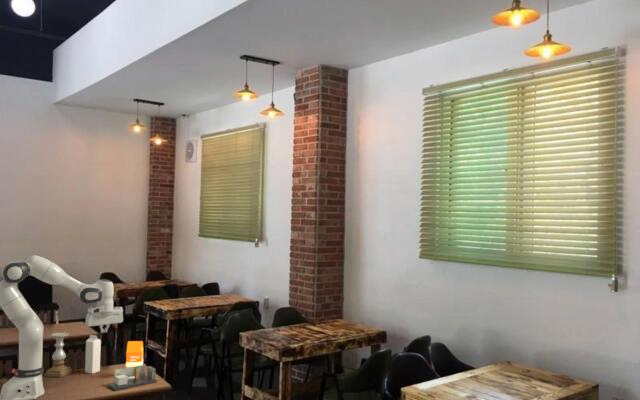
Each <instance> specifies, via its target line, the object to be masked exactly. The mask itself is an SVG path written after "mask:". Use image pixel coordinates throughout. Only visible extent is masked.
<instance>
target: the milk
mask: <svg viewBox="0 0 640 400" xmlns="http://www.w3.org/2000/svg"><path fill="white" fill-rule="evenodd" d="M101 345H102V339H100V338H98V335H94V334H90V335H89V338H88V339H86V341H85V365H84V368H85V369H84V373H88V374H95V373H98V372H101V349H102V348H101Z"/></svg>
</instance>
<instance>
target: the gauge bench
mask: <svg viewBox="0 0 640 400" xmlns="http://www.w3.org/2000/svg"><path fill="white" fill-rule="evenodd" d="M136 370H139V376H138V379H136ZM113 375H114V377H113V380H114V381H113V382H110V383H107V385H108V386H107V387H109V388H110V389H111V390H113V391H114V392H117V391H122V390H127V389H131V388H136V387H137V388H138V387H141V386H147V385H151V384H157V382H158V380H157V379H156V368H155V367H153V366H150V365H148V366H147V364H145V363H143V365H139V366H133V367H127V368H126V367H124V368H118V369H114V373H113ZM119 375H126V376H127V377H132V376H135V379H132V380H127V384H124V385H119V386H118V385H117V384H115V376H119Z"/></svg>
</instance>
